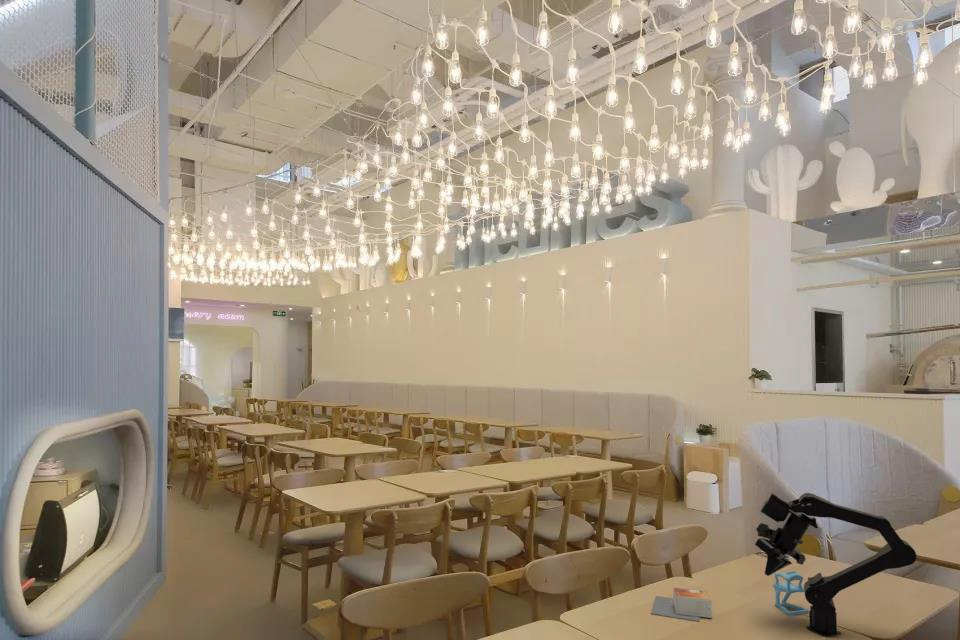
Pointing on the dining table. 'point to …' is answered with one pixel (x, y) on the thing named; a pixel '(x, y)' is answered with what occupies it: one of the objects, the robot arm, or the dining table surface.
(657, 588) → the dining table surface
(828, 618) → the robot arm
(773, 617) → the dining table surface
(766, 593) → the dining table surface
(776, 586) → the chair
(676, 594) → the small box
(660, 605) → the mat
